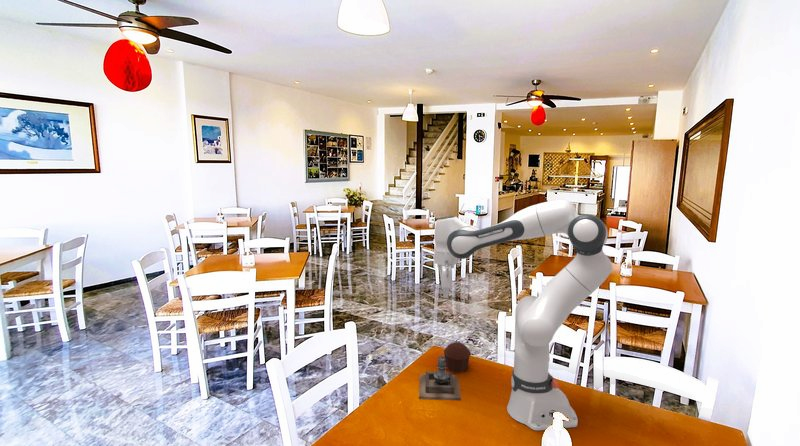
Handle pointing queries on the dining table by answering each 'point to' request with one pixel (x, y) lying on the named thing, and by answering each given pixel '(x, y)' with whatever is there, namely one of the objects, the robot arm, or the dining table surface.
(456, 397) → the walnut board
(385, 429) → the dining table surface
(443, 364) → the grey chess piece
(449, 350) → the muffin
